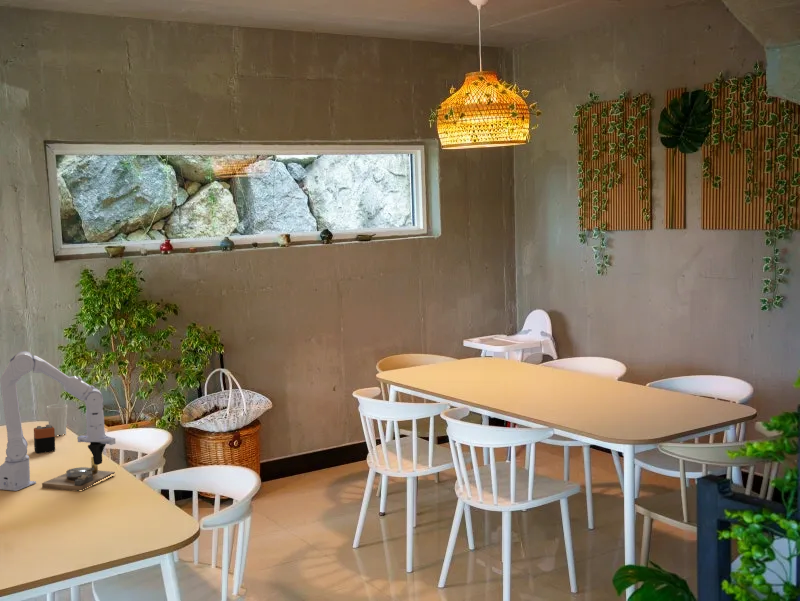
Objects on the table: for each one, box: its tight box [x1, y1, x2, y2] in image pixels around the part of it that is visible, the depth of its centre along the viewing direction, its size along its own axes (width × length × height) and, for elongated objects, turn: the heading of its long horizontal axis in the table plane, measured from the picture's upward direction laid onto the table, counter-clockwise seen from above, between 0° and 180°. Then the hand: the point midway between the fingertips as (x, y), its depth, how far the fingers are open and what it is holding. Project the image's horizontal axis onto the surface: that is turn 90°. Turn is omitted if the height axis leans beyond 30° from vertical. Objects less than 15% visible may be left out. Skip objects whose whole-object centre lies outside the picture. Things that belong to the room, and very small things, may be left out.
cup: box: [46, 403, 68, 437], centre depth 353 cm, size 8×8×12 cm
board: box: [41, 470, 116, 491], centre depth 287 cm, size 18×15×4 cm
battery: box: [33, 423, 56, 454], centre depth 327 cm, size 4×7×10 cm, turn 123°
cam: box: [66, 456, 99, 480], centre depth 288 cm, size 12×8×5 cm
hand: (97, 463), depth 292 cm, fingers closed, pressing on cam
